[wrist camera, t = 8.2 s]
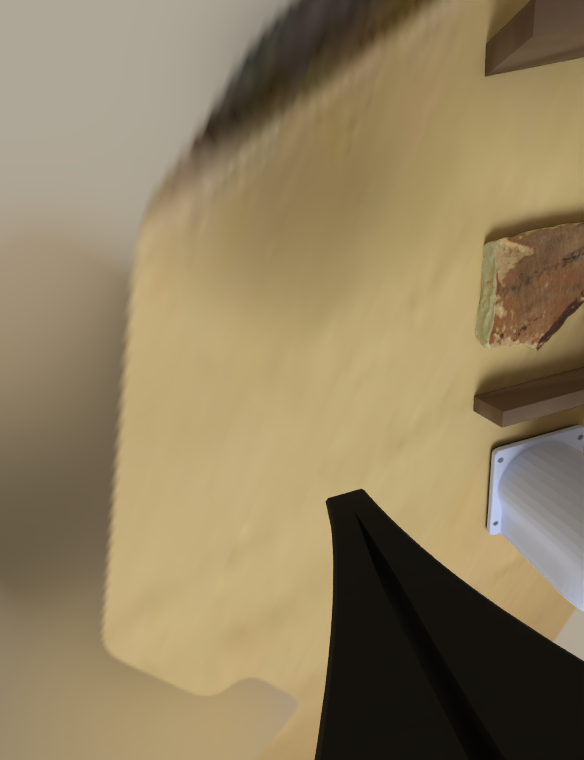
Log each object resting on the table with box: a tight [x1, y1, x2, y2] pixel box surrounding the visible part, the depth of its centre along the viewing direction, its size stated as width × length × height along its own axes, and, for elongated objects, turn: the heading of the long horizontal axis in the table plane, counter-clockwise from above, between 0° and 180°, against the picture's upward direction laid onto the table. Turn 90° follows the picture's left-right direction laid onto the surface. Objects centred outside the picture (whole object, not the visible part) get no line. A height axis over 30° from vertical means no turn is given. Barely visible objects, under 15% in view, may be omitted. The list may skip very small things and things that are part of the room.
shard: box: [475, 221, 584, 351], centre depth 18 cm, size 11×8×2 cm
